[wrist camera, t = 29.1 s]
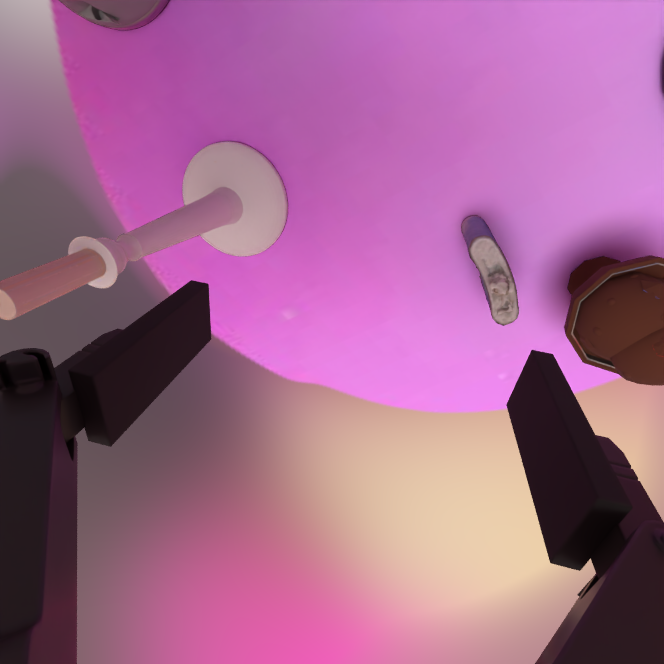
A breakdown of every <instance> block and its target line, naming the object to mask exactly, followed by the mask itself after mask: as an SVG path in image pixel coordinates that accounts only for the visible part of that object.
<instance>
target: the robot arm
mask: <svg viewBox="0 0 664 664" xmlns="http://www.w3.org/2000/svg"><path fill="white" fill-rule="evenodd" d="M59 1H60V2H61V3H63V4H64V5H65V6H66V7H68V8H69V9H70V10H72V11H73V12H74V13H76V14H78V15H79V16H81V17H83V18H85V19H86V20H88V21H90V22H93V23H95V24H98V25H101V26H104V27H108V28H111V29H116V30H131V29H136V28H139V27H142V26H144V25H146V24H148V23H149V22H151V21H152V20H153V19H154V18H156V17H157V16H158V15H159V14H160V12H161V11H162V10H163V9H164V7H165V6H166V4H167V3H168V1H169V0H59ZM210 340H211V326H210V306H209V285H208V284H207V283H202V282H197V281H192V280H191V281H190V282H188V283H187V284H186V285H184V286H183V287H182V288H180V289H179V290H177V291H176V292H175V293H173V294H172V295H171V296H169V297H168V298H167V299H165V300H164V301H162V302H161V303H160V304H158V305H157V306H155V307H154V308H153V309H151V310H150V311H149V312H147V313H146V314H144V315H143V316H142V317H140V318H139V319H138V320H136V321H135V322H133V323H132V324H131V325H129V326H128V327H127V328H125V329H124V330H121V329H116V330H113V331H111V332H108V333H105V334H103V335H101V336H100V337H98V338H97V339H95V340H94V341H93V342H91V344H88V345H87V346H85V347H84V348H83V349H82V351H78V352H77V353H75V354H74V355H72V356H71V357H70V358H68V359H67V360H65V361H64V362H62V363H61V364H60V365H58V366H57V367H55V368H54V367H53V364H52V361H51V358H50V355H49V353H48V352H47V351H45V350H43V349H37V348H30V349H29V348H28V349H20V350H16V351H12V352H9V353H7V354H5V355H2V356H1V357H0V664H77V441H76V438H75V435H76V434H78V433H79V432H80V431H81V430H82V429H83V428H84V427H85V431H86V434H87V437H88V441H91V442H95V443H99V444H102V445H106V446H112V445H113V444H114V443H115V442H116V440H117V439H118V438H119V437H120V436H121V435H122V434H123V433H124V432H125V431H126V430H127V428H129V427H130V425H131V424H132V423H133V422H134V421H135V420H136V419H137V418H138V417H139V416H140V415H141V414H142V413H143V412H144V411H145V409H146V408H147V407H148V406H149V405H150V404H151V403H152V402H153V401H154V400H155V399H156V398H157V397H158V396H159V394H160V393H161V392H162V391H163V390H164V389H165V388H166V387H167V386H168V385H169V384H170V382H172V380H173V379H174V378H175V377H176V376H177V375H178V374H179V373H180V372H181V371H182V370H183V369H184V368H185V367H186V366H187V364H188V363H189V362H190V361H191V360H192V359H193V358H194V357H195V356H196V355H197V354H198V353H199V352H200V351H201V349H202V348H203V347H204V346H205V345H206V344H207V343H208V342H209V341H210ZM507 408H508V412H509V416H510V419H511V423H512V426H513V430H514V434H515V437H516V441H517V444H518V448H519V452H520V455H521V458H522V462H523V466H524V469H525V473H526V477H527V481H528V484H529V488H530V491H531V495H532V498H533V502H534V506H535V509H536V513H537V516H538V520H539V524H540V527H541V531H542V535H543V538H544V542H545V546H546V549H547V553H548V556H549V560H550V563H552V564H556V565H560V566H564V567H567V568H571V569H576V570H579V571H580V570H581V569H582V568H583V566H584V565H585V564H586V563H587V561H589V559H590V558H591V560H592V563H593V566H594V568H595V571H596V574H595V576H594V577H593V578H592V579H591V580H590V581H589V582H588V583H587V585H586V586H585V587H584V588H583V589H582V590H581V591H580V593H579V594H578V596H579V598H578V600H577V601H576V603H575V605H574V606H573V607H572V609H571V611H570V612H569V613H568V615H567V616H566V618H565V619H564V621H563V622H562V624H561V625H560V627H559V628H558V630H557V631H556V633H555V634H554V636H553V637H552V639H551V641H550V642H549V644H548V645H547V646H546V648H545V649H544V651H543V652H542V654H541V656H540V657H539V659H538V660H537V662H536V663H535V664H664V522H663V521H662V519H661V517H660V515H659V514H658V512H657V510H656V508H655V507H654V505H653V503H652V501H651V500H650V498H649V496H648V495H647V493H646V491H645V489H644V488H643V486H642V484H641V483H640V481H638V477H637V476H636V474H635V472H634V470H633V469H631V465H630V464H629V462H628V460H627V458H626V457H625V455H624V453H623V452H622V451H621V450H620V449H619V448H618V447H617V446H616V445H615V444H614V443H613V442H612V441H611V440H610V439H609V438H606V437H602V436H597V435H595V434H594V432H593V430H592V428H591V426H590V424H589V422H588V420H587V418H586V417H585V415H584V413H583V411H582V409H581V407H580V405H579V403H578V401H577V399H576V397H575V396H574V394H573V392H572V390H571V388H570V386H569V384H568V382H567V380H566V378H565V376H564V375H563V373H562V371H561V369H560V367H559V365H558V363H557V361H556V359H555V357H554V355H553V354H549V353H545V352H540V351H535V350H532V351H531V353H530V355H529V357H528V359H527V361H526V364H525V366H524V368H523V370H522V372H521V374H520V377H519V379H518V381H517V383H516V385H515V387H514V390H513V392H512V394H511V396H510V398H509V400H508V402H507Z"/></svg>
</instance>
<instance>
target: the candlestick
mask: <svg viewBox="0 0 664 664" xmlns="http://www.w3.org/2000/svg"><path fill="white" fill-rule="evenodd" d="M182 192H183V201H184V206H183V207H181V208H179V209H177V210H175V211H173V212H171V213H168V214H166V215H164V216H162V217H160V218H158V219H156V220H154V221H151V222H149V223H147V224H145V225H143V226H141V227H139V228H136V229H134V230H132V231H130V232H128V233H123V234H121V235H119V236H118V238H117V240H116V241H114V240H111V239H108V238H97V239H93V238H91V237H85V236H82V237H77V238H75V239H74V240H73V241H72V242H71V243H70V245H69V249H68V256H65V257H62V258H60V259H57V260H54V261H52V262H49V263H46V264H44V265H41V266H38V267H36V268H33V269H31V270H28V271H25V272H22V273H20V274H17V275H14V276H12V277H9V278H7V279H4V280H1V281H0V318H1V319H5V320H11V319H14V318H16V317H18V316H20V315H22V314H24V313H26V312H29V311H30V310H33V309H35V308H37V307H39V306H41V305H43V304H45V303H47V302H49V301H52V300H54V299H56V298H58V297H60V296H62V295H64V294H66V293H68V292H70V291H72V290H74V289H76V288H79V287H80V286H83V285H85V284H89V285H91V286H93V287H97V288H107V287H110V286H111V285H113V284H114V282H115V281H116V279H117V274H120V273H121V272H122V271H123V270H124V269H125V267H126V263H127V261H128V260H129V261H137V260H139V259H140V258H142V257H144V256H147V255H149V254H152V253H154V252H157V251H160V250H162V249H165V248H167V247H170V246H172V245H175V244H177V243H180V242H183V241H185V240H188V239H190V238H193V237H195V236H198V235H200V236H201V237H202V238H203V239H204V240H205V241H206V242H207V243H208V244H210V245H211V246H212V247H214V248H216V249H217V250H219V251H221V252H223V253H226V254H229V255H233V256H252V255H256V254H259V253H261V252H263V251H265V250H266V249H268V248H269V247H270V246H272V245H273V244H274V243H275V242H276V241H277V239H278V238H279V237H280V235H281V233H282V231H283V229H284V227H285V224H286V220H287V213H288V202H287V195H286V190H285V187H284V184H283V182H282V179H281V177H280V175H279V174H278V172H277V170H276V169H275V167H274V166H273V165H272V164H271V162H270V161H269V160H268V159H267V158H266V157H265V156H264V155H262V154H261V153H260V152H258V151H257V150H255V149H254V148H252V147H250V146H247V145H245V144H242V143H238V142H229V141H228V142H218V143H214V144H211V145H208V146H206V147H205V148H203V149H202V150H200V151H199V152H198V153H197V154H196V155H195V156H194V157H193V158H192V160H191V161H190V163H189V164H188V166H187V169H186V171H185V175H184V179H183V187H182Z"/></svg>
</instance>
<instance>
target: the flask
mask: <svg viewBox="0 0 664 664" xmlns="http://www.w3.org/2000/svg"><path fill="white" fill-rule="evenodd" d="M461 228H462V233H463V236H464V238H465V241H466V243H467V247H468V252H469V256H470V258H471V259H472V261H473V262H474V263H475V265H476V266H477V267H476V268H478V270H479V271H480V276H479V277H480V278H481V282H482V286H483V288H484V291H485V295H486V299H487V301H488V304H489V307H490V310H491V315H492V318H493V319H494V321H495V322H496V323H498V324H501V325H503V326H504V325H507V324H510V323H512V322H513V321H515V320H516V319H517V317H518V314H519V307H518V299H517V290H516V285H515V282H514V278H513V275H512V272H511V269H510V267H509V264H508V262H507V260H506V258H505V256H504V254H503V252H502V250H501V249H500V247H499V246H498V244H497V243H496V240H495V238H494V237H493V235H492V233H491V231H490V229H489V227H488V226H487V224H486V223H485V221H484V220H483V219H482V218H480V217H479V216H470V217H467V218H466V219H465V220H464V221H463V223H462V226H461Z"/></svg>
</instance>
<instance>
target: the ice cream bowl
mask: <svg viewBox="0 0 664 664" xmlns="http://www.w3.org/2000/svg"><path fill="white" fill-rule="evenodd" d="M567 289H568V290H569V292H570V294H571V295H572V298H571V302H570V306H569V310H568V314H567V318H566V322H565V326H564V328H565V334H566V336H567V338H568V339H569V341H570V343H571V344H572V346H573V347H574V349H575V351H576V352H577V354H578V355H579V357H580V358H581V360H582V362H583V363H586V364H589V365H592V366H595V367H599V368H602V369H605V370H608V371H611V372H614V373H617V374H619V375H620V376H622V377H623V378H624V379H626V380H628V381H631V382H635V383H638V384H646V385H664V258H660V257H655V256H645V257H640V258H636V259H632V260H628V261H624V262H620V261H618V260H615V259H611V258H608V257H605V256H602V257H598V258H594V259H590V260H586V261H584V262H583V263H582V264H581V265H580V266H579V267H577V268H576V269H575V270H574V271H573V272H572V273H571V275H570V280H569V284H568V288H567Z"/></svg>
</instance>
